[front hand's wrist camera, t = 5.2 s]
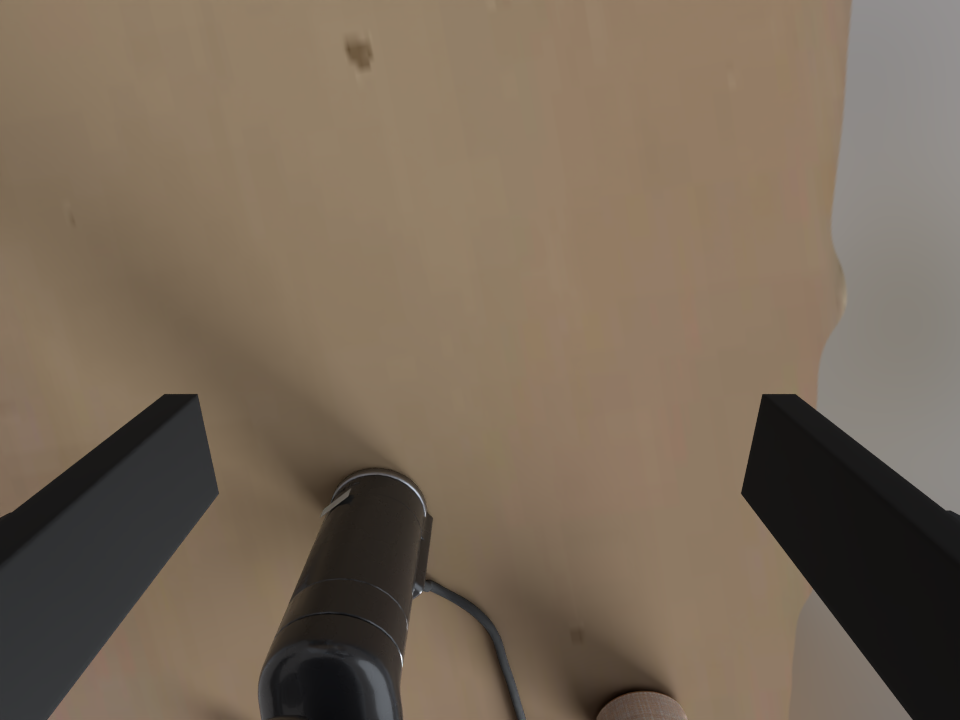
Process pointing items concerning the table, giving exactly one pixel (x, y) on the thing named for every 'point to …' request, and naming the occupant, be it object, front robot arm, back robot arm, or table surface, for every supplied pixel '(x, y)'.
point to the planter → (642, 707)
